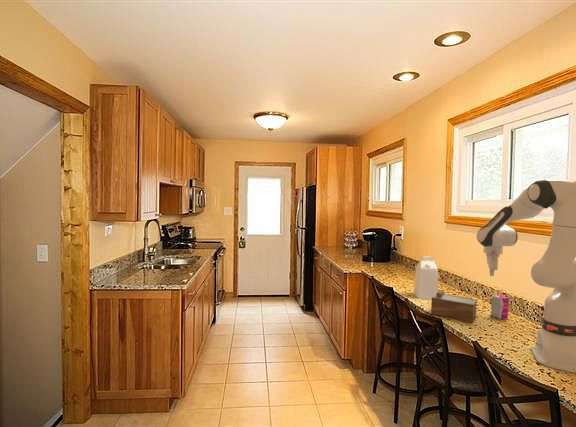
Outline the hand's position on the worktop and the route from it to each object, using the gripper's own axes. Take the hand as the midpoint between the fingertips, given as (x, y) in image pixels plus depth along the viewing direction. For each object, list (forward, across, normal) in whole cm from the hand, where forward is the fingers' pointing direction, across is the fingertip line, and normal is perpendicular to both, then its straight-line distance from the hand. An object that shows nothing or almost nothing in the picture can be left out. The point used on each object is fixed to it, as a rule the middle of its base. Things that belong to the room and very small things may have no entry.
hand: (491, 275), depth 189 cm
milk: (+23, +23, +34) cm, 47 cm away
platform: (+23, +10, +12) cm, 28 cm away
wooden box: (+22, -10, +17) cm, 30 cm away
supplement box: (+22, +1, -5) cm, 23 cm away
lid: (+14, -10, +17) cm, 24 cm away
